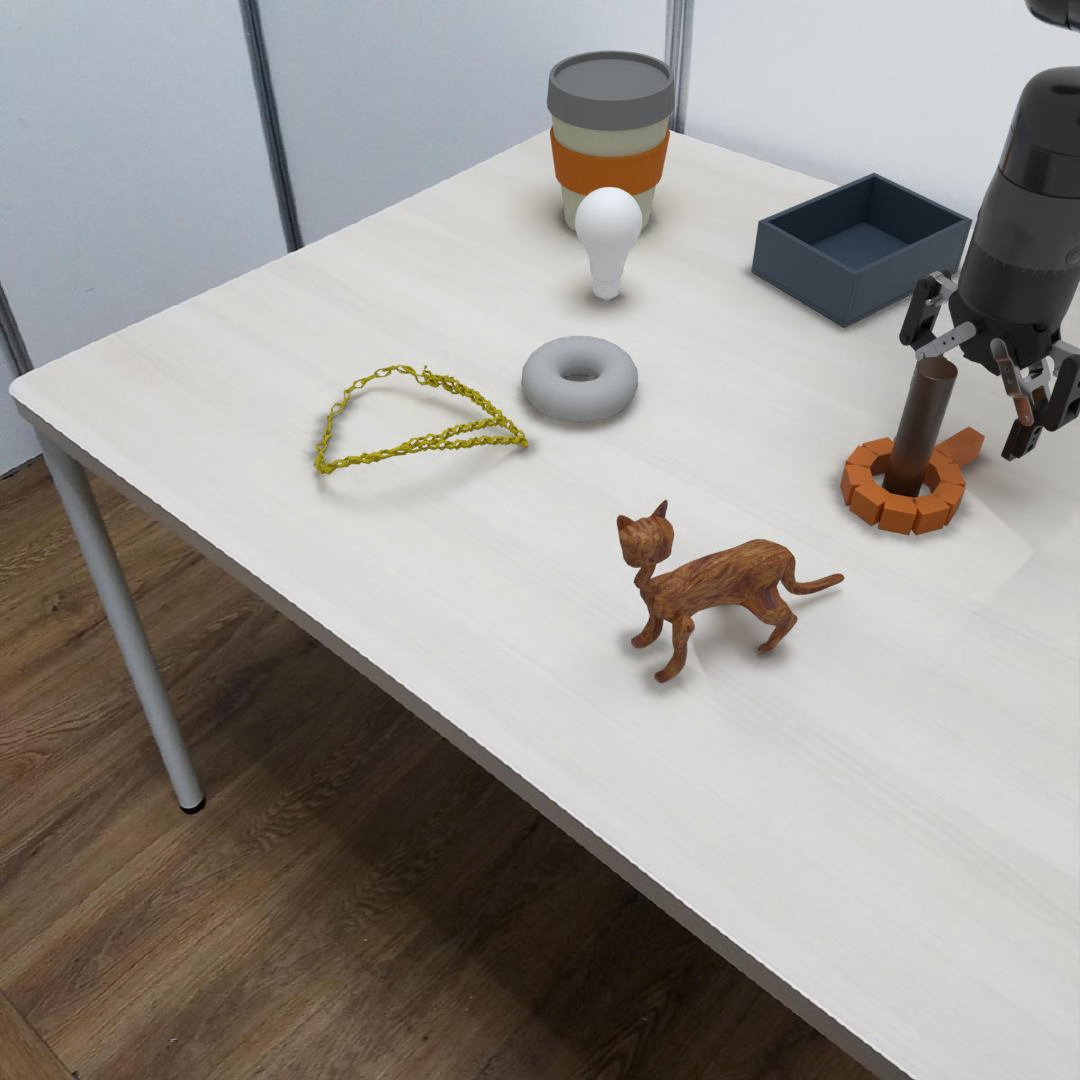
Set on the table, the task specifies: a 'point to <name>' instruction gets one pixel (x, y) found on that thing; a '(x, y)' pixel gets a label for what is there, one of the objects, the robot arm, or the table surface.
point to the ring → (904, 510)
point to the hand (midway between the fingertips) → (965, 426)
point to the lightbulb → (608, 235)
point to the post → (919, 425)
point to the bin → (858, 247)
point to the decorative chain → (407, 446)
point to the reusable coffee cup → (609, 125)
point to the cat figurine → (708, 584)
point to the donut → (579, 398)
